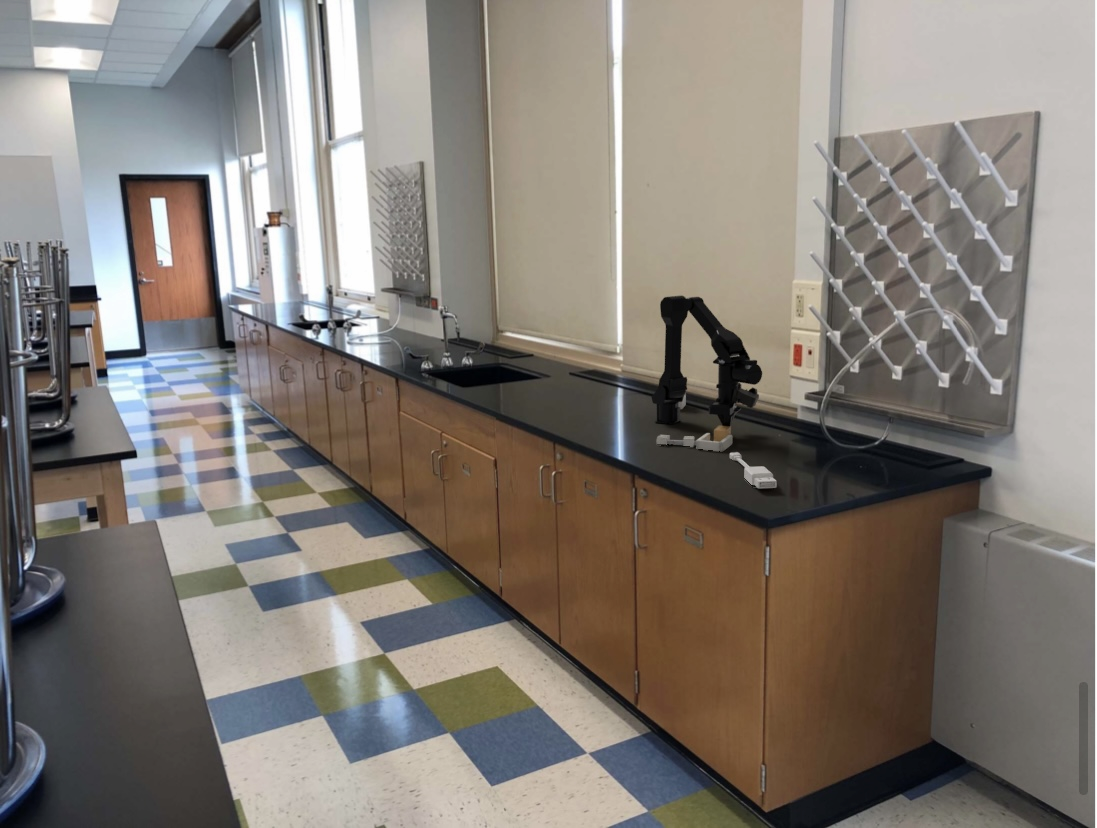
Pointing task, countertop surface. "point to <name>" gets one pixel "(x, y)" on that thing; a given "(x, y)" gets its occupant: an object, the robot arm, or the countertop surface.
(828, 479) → the countertop surface
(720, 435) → the tan rectangular block
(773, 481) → the charging cable
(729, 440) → the end holder
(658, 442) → the clip
